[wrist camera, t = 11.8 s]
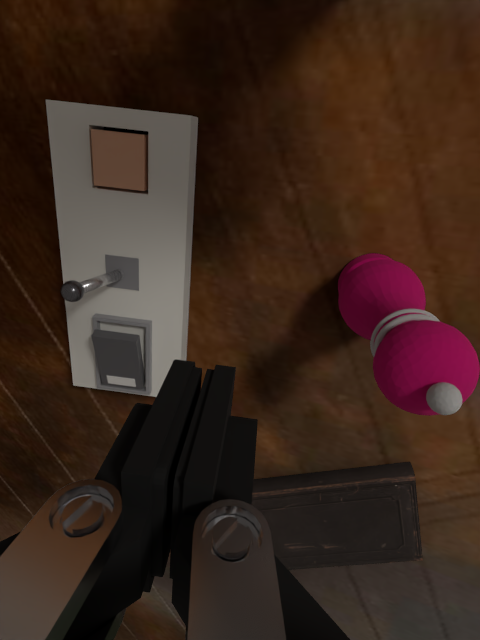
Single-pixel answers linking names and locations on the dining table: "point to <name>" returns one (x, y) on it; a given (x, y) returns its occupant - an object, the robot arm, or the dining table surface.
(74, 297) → the toggle lever
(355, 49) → the dining table surface
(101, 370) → the panel
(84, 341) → the control panel
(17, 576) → the robot arm
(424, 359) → the pepper mill
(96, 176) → the push button
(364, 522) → the hardcover book
